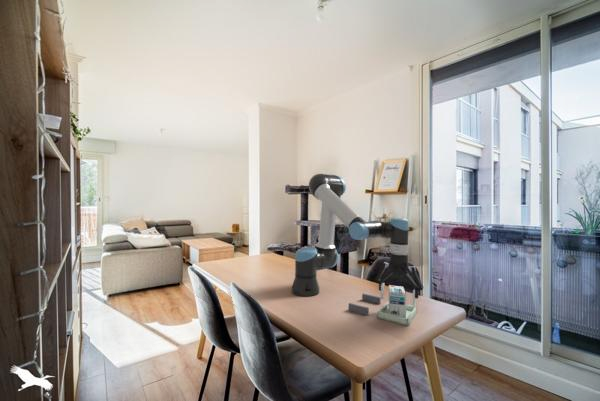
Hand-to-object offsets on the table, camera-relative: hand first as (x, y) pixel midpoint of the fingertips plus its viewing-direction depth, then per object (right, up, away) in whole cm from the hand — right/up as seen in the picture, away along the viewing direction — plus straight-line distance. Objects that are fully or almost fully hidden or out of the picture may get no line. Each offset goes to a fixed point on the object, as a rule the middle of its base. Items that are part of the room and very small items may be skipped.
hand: (397, 301), depth 118 cm
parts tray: (0, -6, 0) cm, 6 cm away
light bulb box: (-1, -5, 0) cm, 6 cm away
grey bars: (-12, -6, +9) cm, 16 cm away
